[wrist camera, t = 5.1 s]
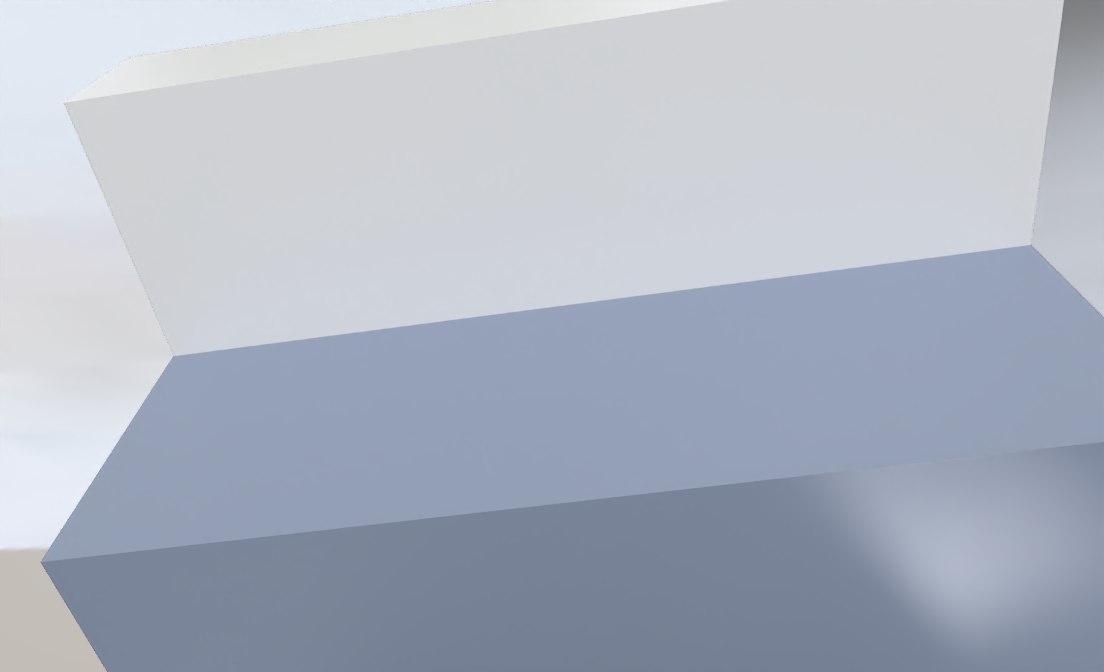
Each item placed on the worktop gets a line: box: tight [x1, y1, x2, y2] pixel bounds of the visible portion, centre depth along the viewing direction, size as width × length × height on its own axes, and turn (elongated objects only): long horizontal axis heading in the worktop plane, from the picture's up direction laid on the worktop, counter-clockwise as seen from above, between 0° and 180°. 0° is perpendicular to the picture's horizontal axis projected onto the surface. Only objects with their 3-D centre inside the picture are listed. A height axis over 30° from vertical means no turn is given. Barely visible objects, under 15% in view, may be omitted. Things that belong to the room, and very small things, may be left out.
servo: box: [41, 0, 1104, 672], centre depth 7 cm, size 4×10×7 cm, turn 8°
